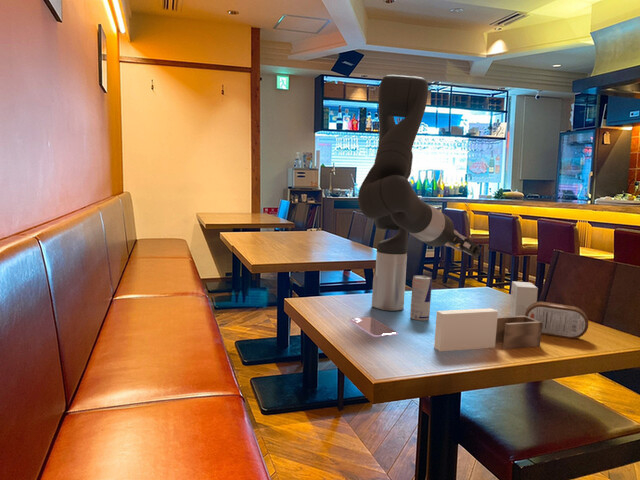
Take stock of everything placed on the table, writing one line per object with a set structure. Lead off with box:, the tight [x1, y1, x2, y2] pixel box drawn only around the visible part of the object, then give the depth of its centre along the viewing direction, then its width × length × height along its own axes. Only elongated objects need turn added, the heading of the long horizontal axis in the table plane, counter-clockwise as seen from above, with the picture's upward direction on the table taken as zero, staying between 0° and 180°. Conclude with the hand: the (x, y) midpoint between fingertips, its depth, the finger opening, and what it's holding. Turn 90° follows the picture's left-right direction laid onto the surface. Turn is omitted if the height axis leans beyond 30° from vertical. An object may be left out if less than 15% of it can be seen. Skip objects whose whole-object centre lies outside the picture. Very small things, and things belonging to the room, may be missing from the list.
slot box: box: [495, 315, 543, 350], centre depth 116 cm, size 10×6×6 cm, turn 107°
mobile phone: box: [348, 316, 399, 338], centre depth 125 cm, size 8×1×15 cm
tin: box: [525, 301, 589, 340], centre depth 124 cm, size 15×3×8 cm, turn 64°
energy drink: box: [409, 274, 433, 322], centre depth 134 cm, size 5×5×12 cm
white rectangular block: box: [433, 307, 499, 352], centre depth 111 cm, size 15×3×9 cm, turn 107°
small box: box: [508, 280, 539, 316], centre depth 138 cm, size 8×6×10 cm
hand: (462, 246), depth 113 cm, fingers open, 8 cm apart
